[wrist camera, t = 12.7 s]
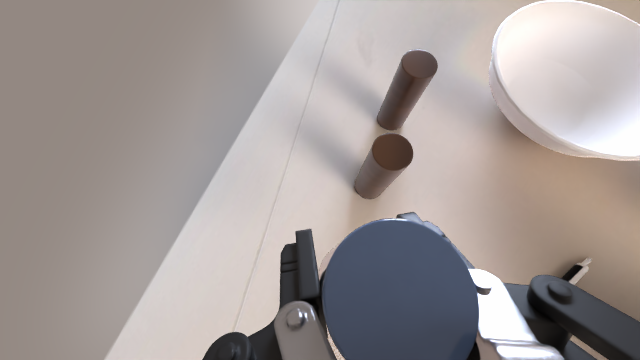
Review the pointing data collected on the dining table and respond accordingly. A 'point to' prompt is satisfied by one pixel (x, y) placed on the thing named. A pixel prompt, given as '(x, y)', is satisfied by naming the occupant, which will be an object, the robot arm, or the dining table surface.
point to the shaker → (398, 294)
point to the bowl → (570, 78)
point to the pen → (577, 271)
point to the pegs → (395, 124)
